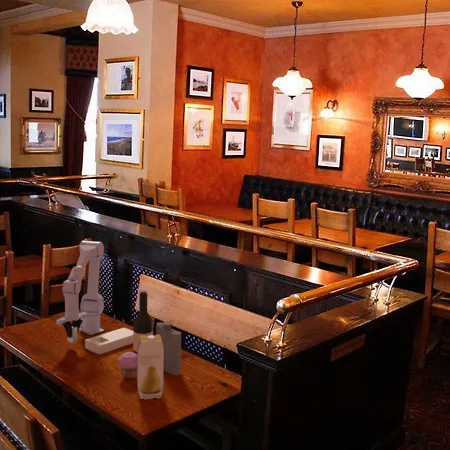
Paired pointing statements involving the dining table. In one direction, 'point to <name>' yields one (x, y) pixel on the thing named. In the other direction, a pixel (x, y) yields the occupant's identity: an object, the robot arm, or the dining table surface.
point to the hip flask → (170, 347)
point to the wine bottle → (142, 321)
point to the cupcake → (128, 364)
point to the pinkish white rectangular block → (73, 335)
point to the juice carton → (150, 366)
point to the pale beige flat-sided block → (109, 341)
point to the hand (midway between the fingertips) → (72, 336)
